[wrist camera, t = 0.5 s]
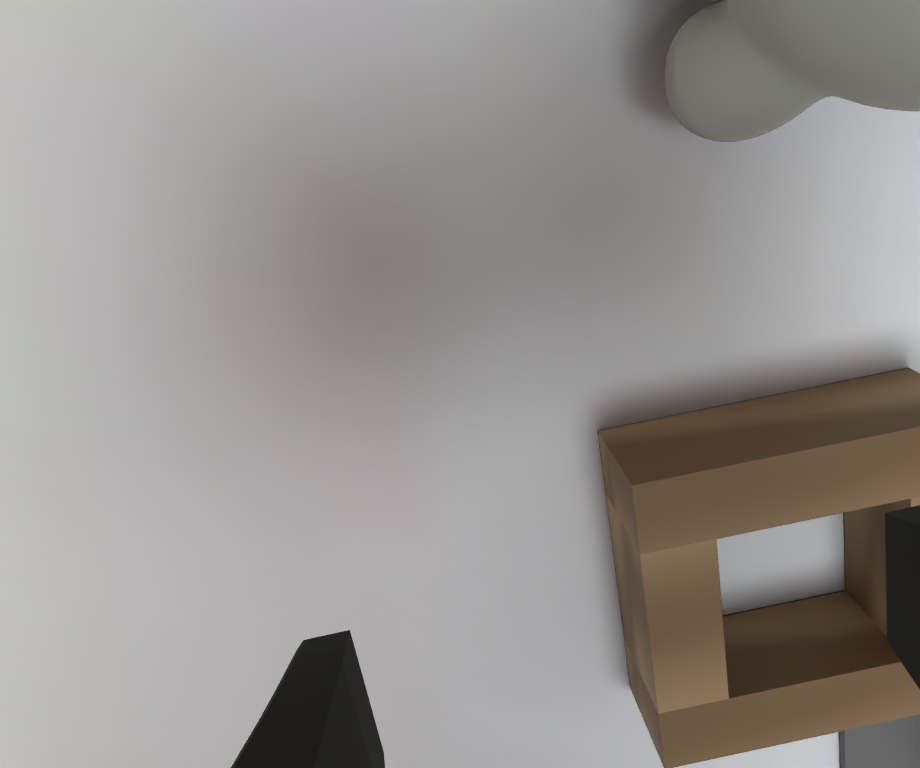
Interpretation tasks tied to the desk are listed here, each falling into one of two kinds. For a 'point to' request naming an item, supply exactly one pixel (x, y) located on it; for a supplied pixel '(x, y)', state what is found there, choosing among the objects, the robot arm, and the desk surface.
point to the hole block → (750, 509)
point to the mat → (882, 745)
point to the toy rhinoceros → (790, 62)
